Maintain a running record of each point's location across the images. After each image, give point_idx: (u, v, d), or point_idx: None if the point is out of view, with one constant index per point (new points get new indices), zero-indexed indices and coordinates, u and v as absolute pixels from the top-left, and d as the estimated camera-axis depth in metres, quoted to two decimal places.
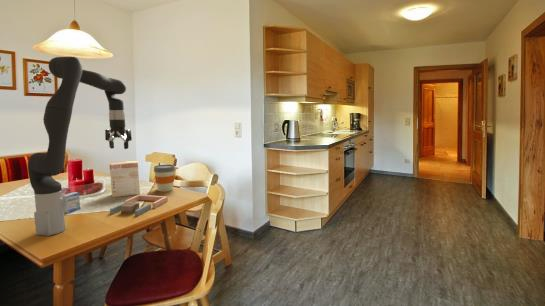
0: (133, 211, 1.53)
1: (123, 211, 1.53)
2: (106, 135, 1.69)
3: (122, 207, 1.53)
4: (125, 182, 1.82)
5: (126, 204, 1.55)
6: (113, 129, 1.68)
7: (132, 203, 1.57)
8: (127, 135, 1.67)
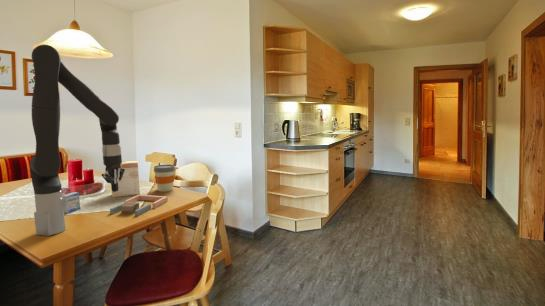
0: (133, 211, 1.54)
1: (123, 211, 1.53)
2: (110, 178, 1.39)
3: (122, 207, 1.53)
4: (124, 182, 1.82)
5: (126, 204, 1.55)
6: (112, 167, 1.41)
7: (132, 203, 1.57)
8: (122, 174, 1.47)
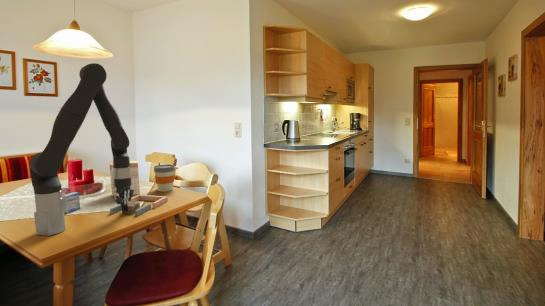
0: (134, 211, 1.54)
1: None
2: (120, 200, 1.46)
3: None
4: None
5: None
6: (122, 189, 1.48)
7: (133, 203, 1.57)
8: (131, 195, 1.54)
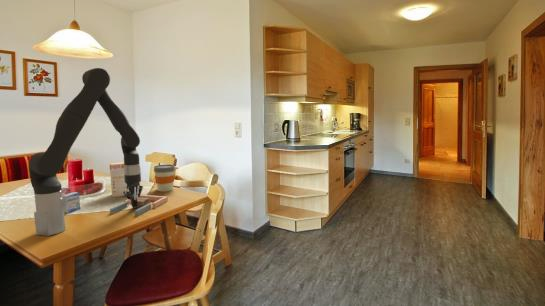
0: None
1: None
2: (130, 195, 1.54)
3: None
4: (124, 182, 1.82)
5: (137, 199, 1.63)
6: (132, 185, 1.55)
7: (143, 198, 1.64)
8: (140, 191, 1.61)
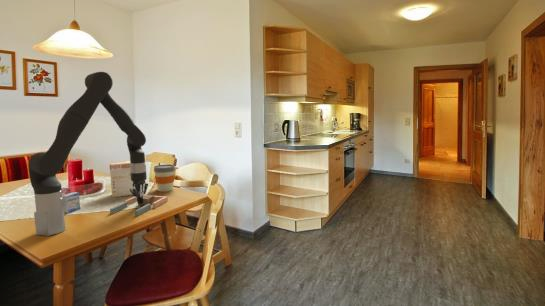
0: (149, 203, 1.66)
1: None
2: (136, 193, 1.59)
3: None
4: (124, 182, 1.82)
5: None
6: (138, 182, 1.60)
7: (148, 196, 1.69)
8: (146, 188, 1.66)
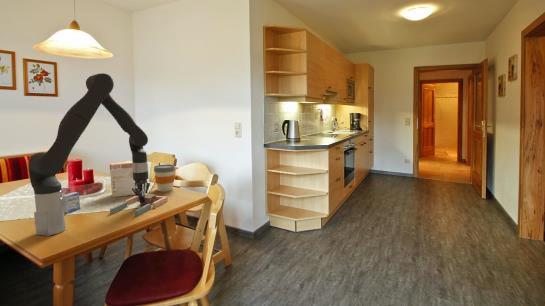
0: (151, 202, 1.68)
1: None
2: (139, 192, 1.60)
3: None
4: (124, 182, 1.82)
5: (145, 196, 1.69)
6: (140, 182, 1.62)
7: (150, 195, 1.71)
8: (148, 188, 1.68)
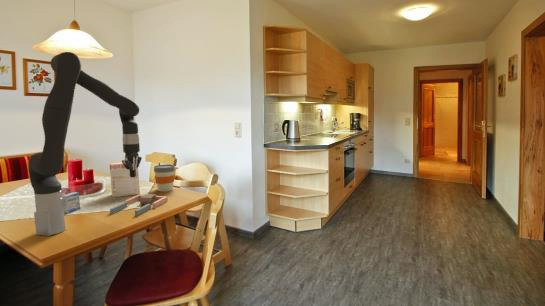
0: (151, 202, 1.68)
1: (142, 202, 1.68)
2: (129, 165, 1.52)
3: (141, 198, 1.67)
4: (124, 182, 1.82)
5: (145, 196, 1.69)
6: (131, 154, 1.54)
7: (150, 195, 1.71)
8: (139, 162, 1.60)
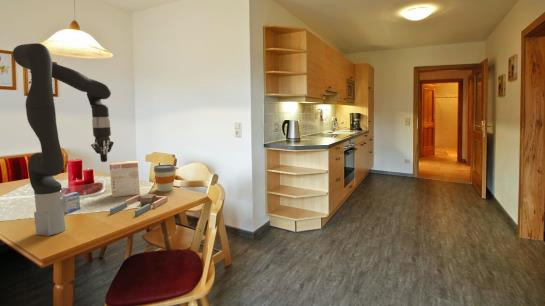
0: (152, 202, 1.68)
1: (142, 202, 1.67)
2: (99, 149, 1.49)
3: (141, 198, 1.67)
4: (124, 182, 1.82)
5: (145, 196, 1.69)
6: (101, 138, 1.50)
7: (150, 195, 1.71)
8: (111, 146, 1.56)
